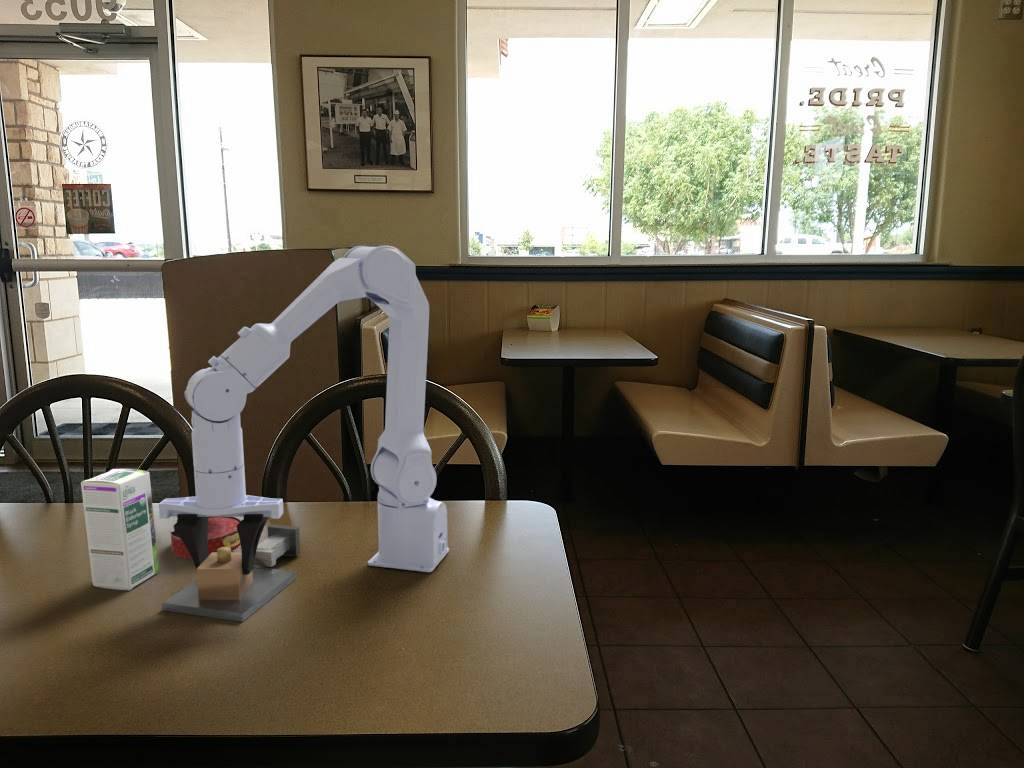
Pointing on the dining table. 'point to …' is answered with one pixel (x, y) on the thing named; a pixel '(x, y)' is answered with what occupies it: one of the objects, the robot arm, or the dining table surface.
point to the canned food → (212, 536)
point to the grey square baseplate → (237, 610)
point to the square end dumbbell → (278, 544)
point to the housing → (222, 576)
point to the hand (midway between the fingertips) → (225, 571)
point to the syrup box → (120, 528)
